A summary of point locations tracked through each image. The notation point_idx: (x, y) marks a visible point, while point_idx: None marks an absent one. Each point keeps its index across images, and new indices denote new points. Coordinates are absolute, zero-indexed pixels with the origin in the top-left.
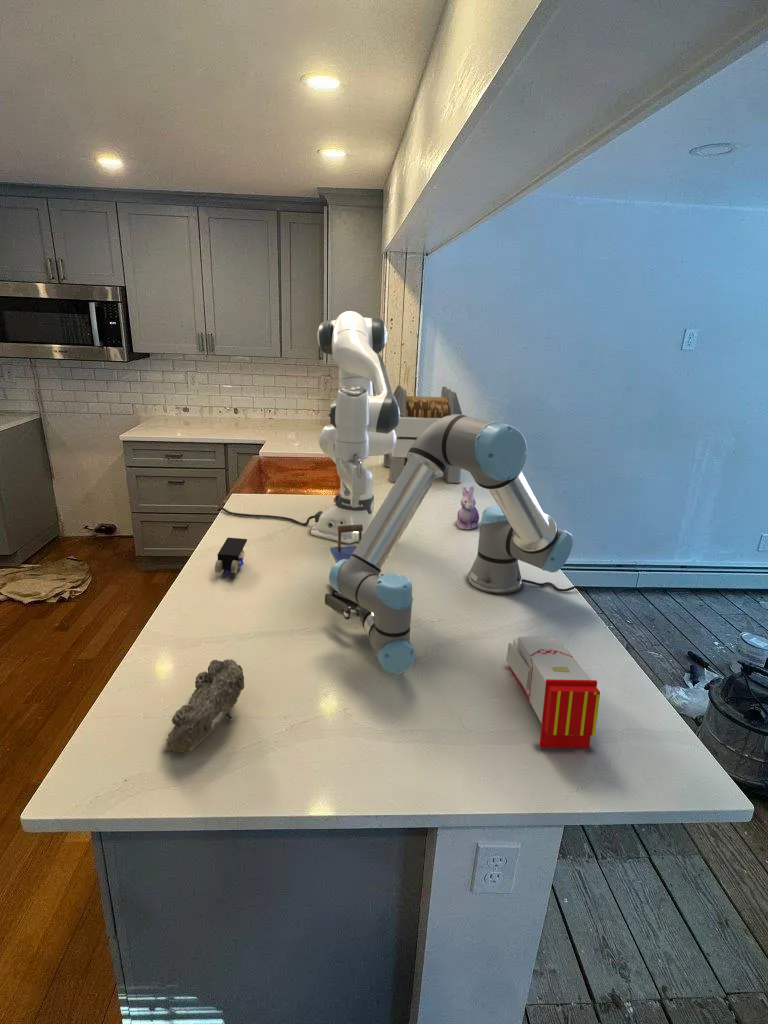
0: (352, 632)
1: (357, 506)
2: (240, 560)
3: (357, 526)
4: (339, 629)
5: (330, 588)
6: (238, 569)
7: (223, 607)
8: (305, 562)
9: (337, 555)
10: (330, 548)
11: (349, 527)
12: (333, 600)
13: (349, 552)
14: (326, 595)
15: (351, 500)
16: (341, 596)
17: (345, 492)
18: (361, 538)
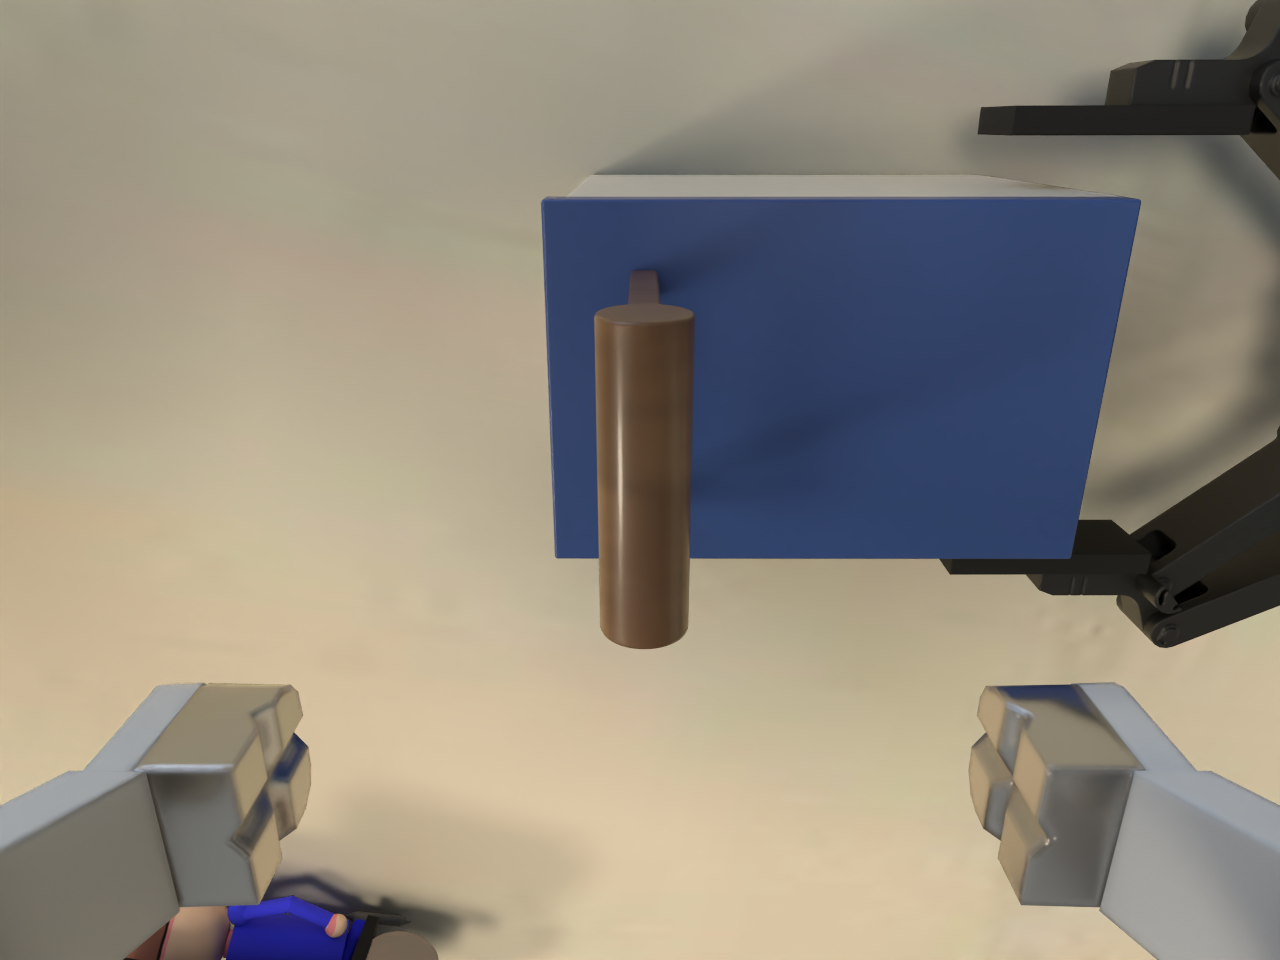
0: (1210, 411)
1: (1111, 696)
2: (260, 916)
3: (679, 399)
4: (1147, 476)
5: (1054, 586)
6: (373, 922)
7: (725, 954)
8: (201, 528)
9: (754, 529)
10: (575, 557)
11: (679, 506)
12: (1265, 609)
13: (710, 408)
14: (1178, 640)
15: (1129, 914)
16: (1240, 550)
17: (276, 827)
18: (659, 293)
